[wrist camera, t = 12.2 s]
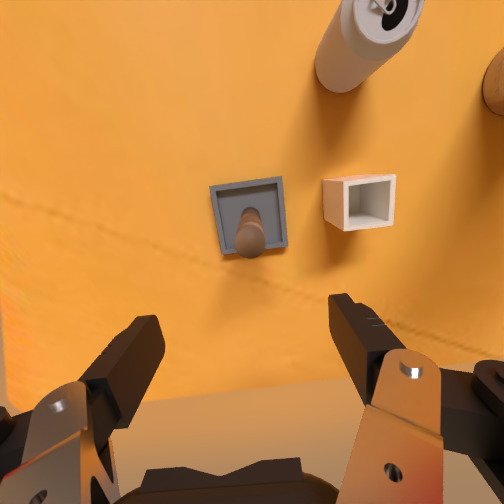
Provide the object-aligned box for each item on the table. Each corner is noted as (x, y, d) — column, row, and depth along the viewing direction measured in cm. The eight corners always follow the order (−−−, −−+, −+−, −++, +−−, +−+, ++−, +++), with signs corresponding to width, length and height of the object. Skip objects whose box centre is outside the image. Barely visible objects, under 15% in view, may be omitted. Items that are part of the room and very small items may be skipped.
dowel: (258, 205, 37) (263, 226, 22) (260, 224, 38) (267, 256, 23) (240, 208, 37) (232, 230, 22) (242, 226, 38) (237, 260, 23)
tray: (280, 176, 36) (281, 176, 34) (286, 243, 40) (288, 246, 38) (211, 185, 37) (209, 186, 35) (223, 251, 40) (221, 254, 38)
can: (344, 106, 33) (393, 71, 22) (302, 73, 32) (329, 17, 20) (380, 52, 31) (454, -19, 20) (336, 14, 30) (387, -84, 18)
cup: (362, 174, 36) (396, 174, 27) (361, 213, 38) (393, 225, 29) (322, 179, 36) (343, 181, 28) (323, 218, 38) (343, 231, 30)
